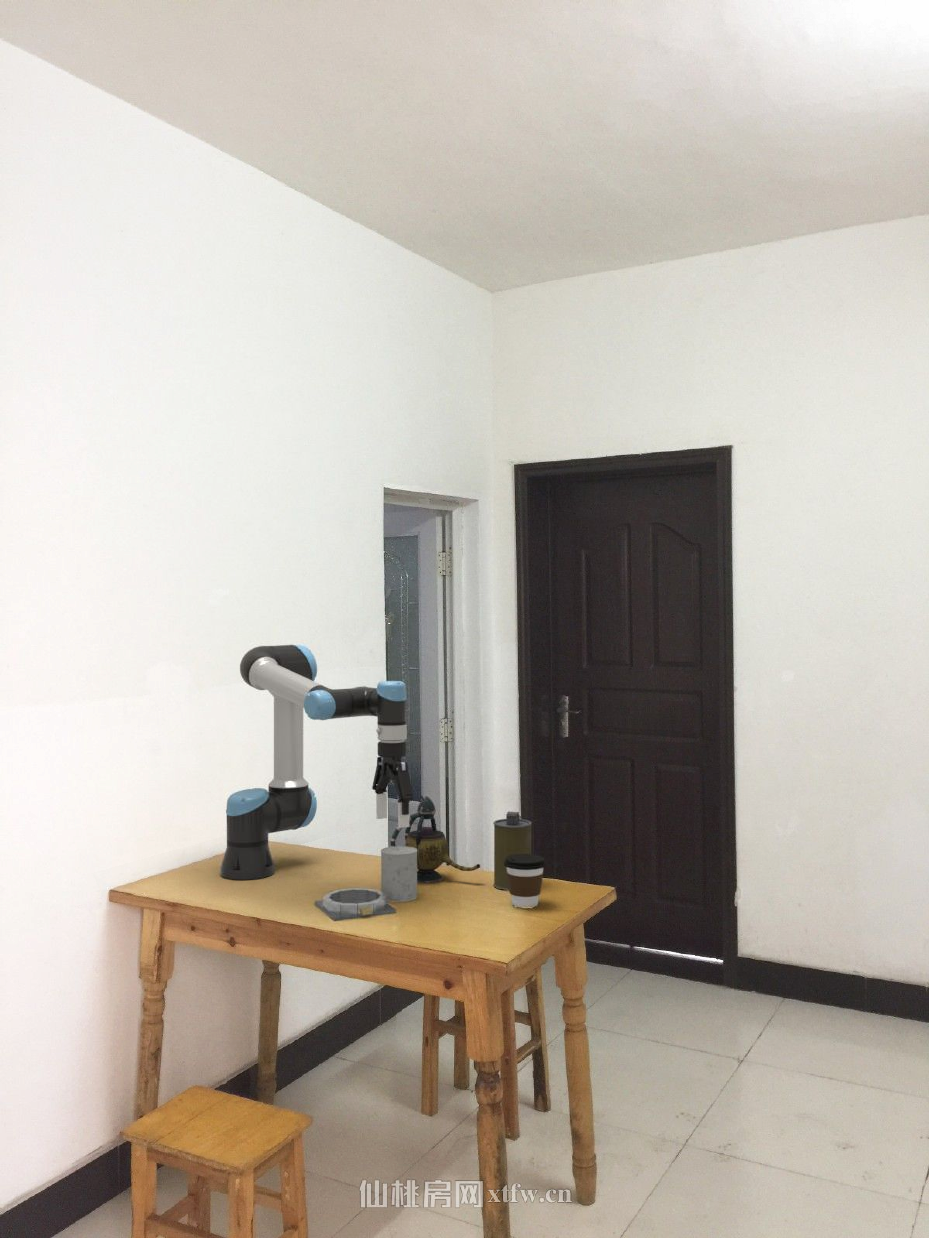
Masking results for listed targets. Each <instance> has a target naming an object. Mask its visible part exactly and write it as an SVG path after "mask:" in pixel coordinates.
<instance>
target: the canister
mask: <svg viewBox="0 0 929 1238" xmlns="http://www.w3.org/2000/svg"><path fill="white" fill-rule="evenodd" d="M505 816H506V818H502V819H497V820H494V821H493V825H494V827H493V828H494V829H493V830H494V833H493V837H494V839H493V840H494V841H493V845H494V846H493V847H494V848H493V849H494V851H493V855H494V856H493V862H494V863H493V866H494V867H493V869H494V871H493V877H494V878H493V887H494V888H495V887H496V888H495V889H497V888H498V889H497V890H500V889H503V890H502V891H506V890H509V885H508V879H507V868H506V866H504V861H505V859H506V857H508V856H510V855H515V854H532V825H533V824H532V821H530V820H528V819H523V818H522V817H521V815H520V811H507V813H506V815H505Z"/></svg>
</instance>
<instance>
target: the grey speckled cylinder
mask: <svg viewBox="0 0 929 1238" xmlns="http://www.w3.org/2000/svg"><path fill="white" fill-rule="evenodd" d="M380 856H381V857H380V859H381V860H380V861H381V862H380V863H381V866H380V867H381V869H380V871H381V872H380V873H381V875H380V877H381V878H380V880H381V881H380V884H381V885H380V888H381V889H380V891H382V892H383V893H385V894H386V895H387V902H392V903H405V902H410V901H414V900H416V899H417V898H418V883H417V871H418V869H417V849H416V848H414V847H408V846H405V845H395V846H392V847H391V846H387V847H384V848H381V850H380Z"/></svg>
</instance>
